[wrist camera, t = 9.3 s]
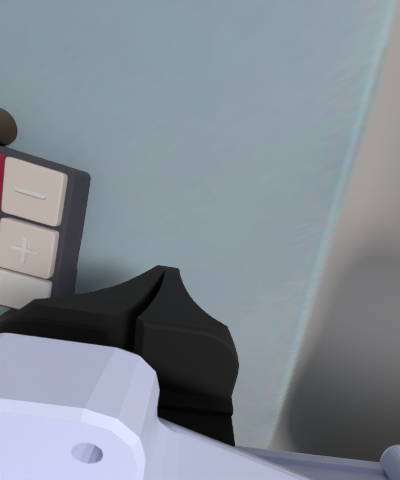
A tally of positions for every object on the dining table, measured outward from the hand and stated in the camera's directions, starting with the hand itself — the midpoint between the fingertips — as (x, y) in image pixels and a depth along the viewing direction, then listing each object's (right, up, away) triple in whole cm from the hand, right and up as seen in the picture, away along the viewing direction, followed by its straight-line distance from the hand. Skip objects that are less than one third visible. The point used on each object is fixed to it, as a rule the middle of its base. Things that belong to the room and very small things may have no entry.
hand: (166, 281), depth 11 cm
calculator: (-16, +4, +9) cm, 19 cm away
